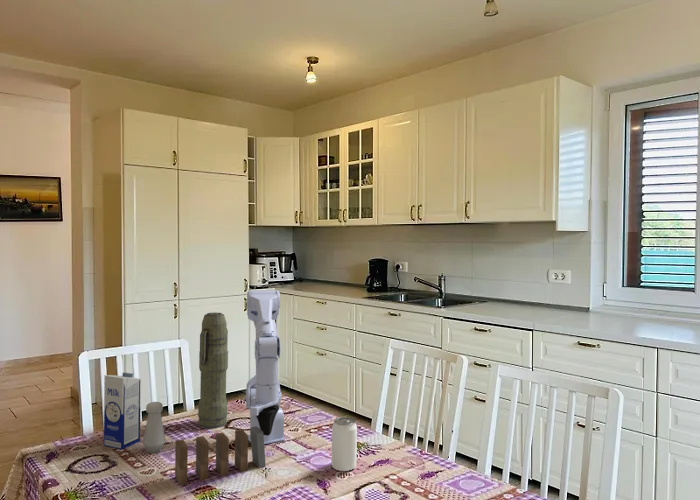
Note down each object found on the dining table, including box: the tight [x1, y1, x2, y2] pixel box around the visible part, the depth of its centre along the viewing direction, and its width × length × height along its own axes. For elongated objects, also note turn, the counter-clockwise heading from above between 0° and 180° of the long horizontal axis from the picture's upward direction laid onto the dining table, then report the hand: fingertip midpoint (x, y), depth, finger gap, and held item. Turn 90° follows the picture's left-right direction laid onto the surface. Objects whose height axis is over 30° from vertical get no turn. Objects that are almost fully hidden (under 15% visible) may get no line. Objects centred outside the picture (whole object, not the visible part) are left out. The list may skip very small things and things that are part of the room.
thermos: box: [197, 312, 229, 429], centre depth 163 cm, size 9×12×35 cm
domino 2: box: [195, 435, 210, 482], centre depth 126 cm, size 2×5×9 cm, turn 31°
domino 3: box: [215, 432, 230, 477], centre depth 129 cm, size 2×5×9 cm, turn 31°
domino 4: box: [234, 429, 249, 473], centre depth 131 cm, size 2×5×9 cm, turn 30°
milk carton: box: [103, 372, 142, 450], centre depth 146 cm, size 7×7×20 cm
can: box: [331, 416, 358, 472], centre depth 133 cm, size 6×6×12 cm
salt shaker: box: [142, 401, 166, 454], centre depth 141 cm, size 6×6×13 cm
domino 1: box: [174, 439, 189, 486], centre depth 124 cm, size 2×5×9 cm, turn 31°
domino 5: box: [249, 426, 266, 469], centre depth 134 cm, size 2×5×9 cm, turn 31°
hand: (266, 434), depth 135 cm, fingers closed
